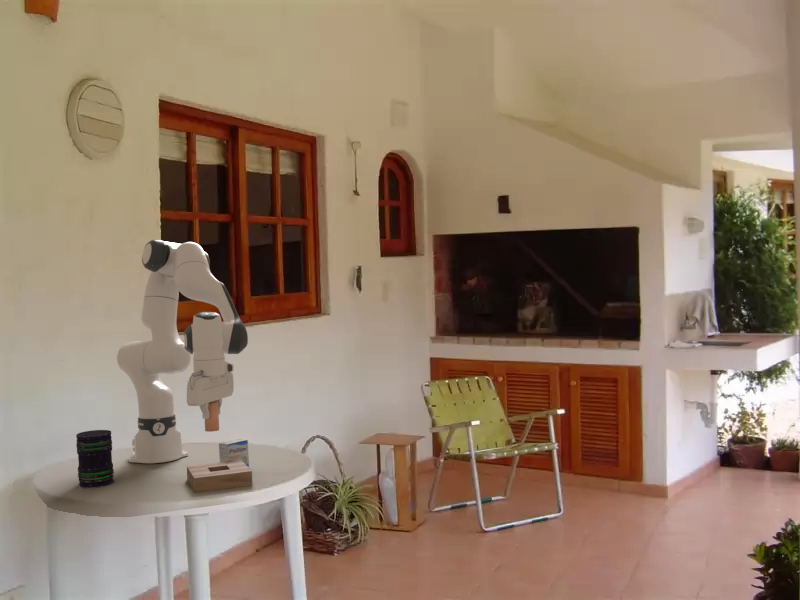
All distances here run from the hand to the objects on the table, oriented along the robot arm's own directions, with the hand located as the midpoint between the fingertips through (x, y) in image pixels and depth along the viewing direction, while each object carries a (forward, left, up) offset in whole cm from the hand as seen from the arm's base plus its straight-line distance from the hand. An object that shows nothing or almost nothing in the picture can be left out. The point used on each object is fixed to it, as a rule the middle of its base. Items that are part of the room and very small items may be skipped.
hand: (211, 416), depth 242 cm
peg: (0, 0, -4) cm, 4 cm away
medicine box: (-14, +8, -20) cm, 25 cm away
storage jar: (-17, -32, -20) cm, 41 cm away
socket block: (0, +1, -19) cm, 19 cm away
